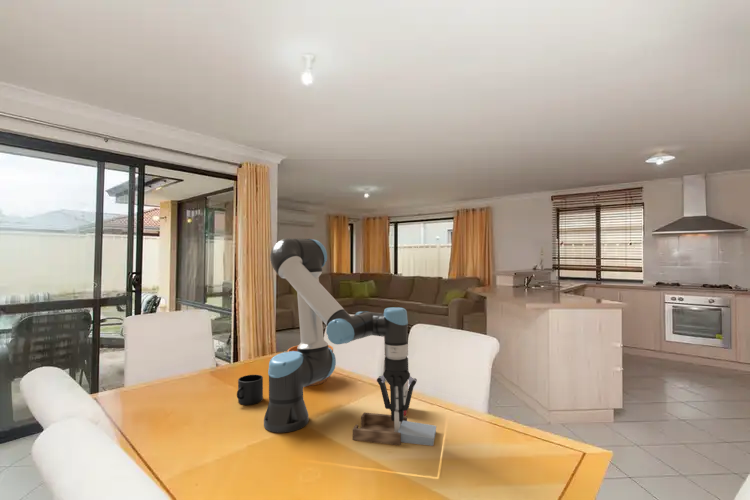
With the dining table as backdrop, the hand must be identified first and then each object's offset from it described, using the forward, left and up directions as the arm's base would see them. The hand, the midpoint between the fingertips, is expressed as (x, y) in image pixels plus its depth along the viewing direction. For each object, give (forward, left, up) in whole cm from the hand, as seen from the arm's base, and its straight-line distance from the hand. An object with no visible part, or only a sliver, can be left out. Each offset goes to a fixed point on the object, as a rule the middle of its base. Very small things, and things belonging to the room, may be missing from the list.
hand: (397, 430), depth 120 cm
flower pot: (-50, +44, -2) cm, 66 cm away
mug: (-64, +15, -2) cm, 65 cm away
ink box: (-3, +19, -2) cm, 19 cm away
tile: (+6, 0, -2) cm, 6 cm away
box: (-6, 0, -2) cm, 6 cm away
